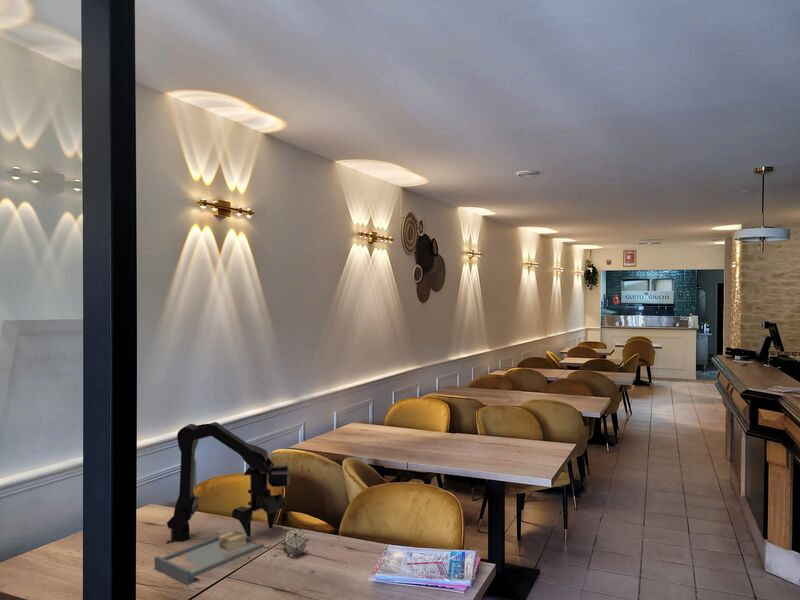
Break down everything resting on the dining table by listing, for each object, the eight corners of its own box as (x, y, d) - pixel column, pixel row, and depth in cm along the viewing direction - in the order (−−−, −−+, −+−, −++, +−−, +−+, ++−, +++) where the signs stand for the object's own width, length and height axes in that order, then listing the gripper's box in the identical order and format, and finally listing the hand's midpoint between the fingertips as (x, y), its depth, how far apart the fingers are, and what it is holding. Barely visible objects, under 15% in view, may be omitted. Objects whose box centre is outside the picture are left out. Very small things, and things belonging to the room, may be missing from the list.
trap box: (154, 568, 182) (154, 557, 182) (230, 539, 203) (229, 528, 203) (187, 584, 171) (187, 572, 171) (263, 551, 192) (263, 540, 192)
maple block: (219, 547, 193) (218, 536, 193) (234, 541, 198) (234, 530, 198) (230, 551, 189) (230, 540, 189) (245, 545, 194) (245, 534, 194)
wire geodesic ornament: (298, 567, 188) (301, 550, 182) (274, 556, 190) (276, 539, 184) (311, 544, 195) (314, 527, 190) (288, 534, 197) (290, 516, 191)
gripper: (251, 498, 190) (252, 547, 190) (295, 483, 205) (296, 528, 205) (230, 492, 197) (231, 539, 197) (274, 478, 212) (275, 522, 212)
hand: (259, 532), depth 202 cm, fingers open, 9 cm apart
